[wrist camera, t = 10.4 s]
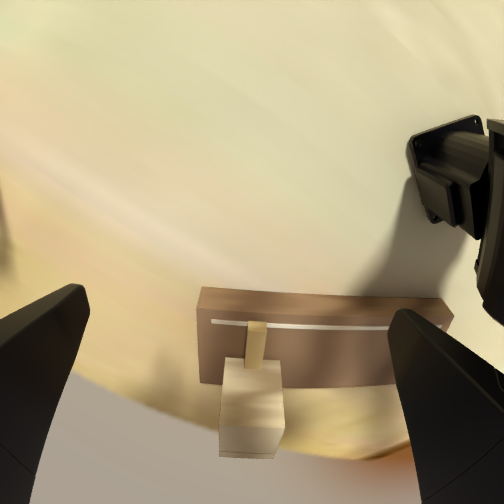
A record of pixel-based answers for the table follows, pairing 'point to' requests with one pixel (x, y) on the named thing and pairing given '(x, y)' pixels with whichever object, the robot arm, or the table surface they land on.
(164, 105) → the table surface
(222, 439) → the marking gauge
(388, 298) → the walnut board
